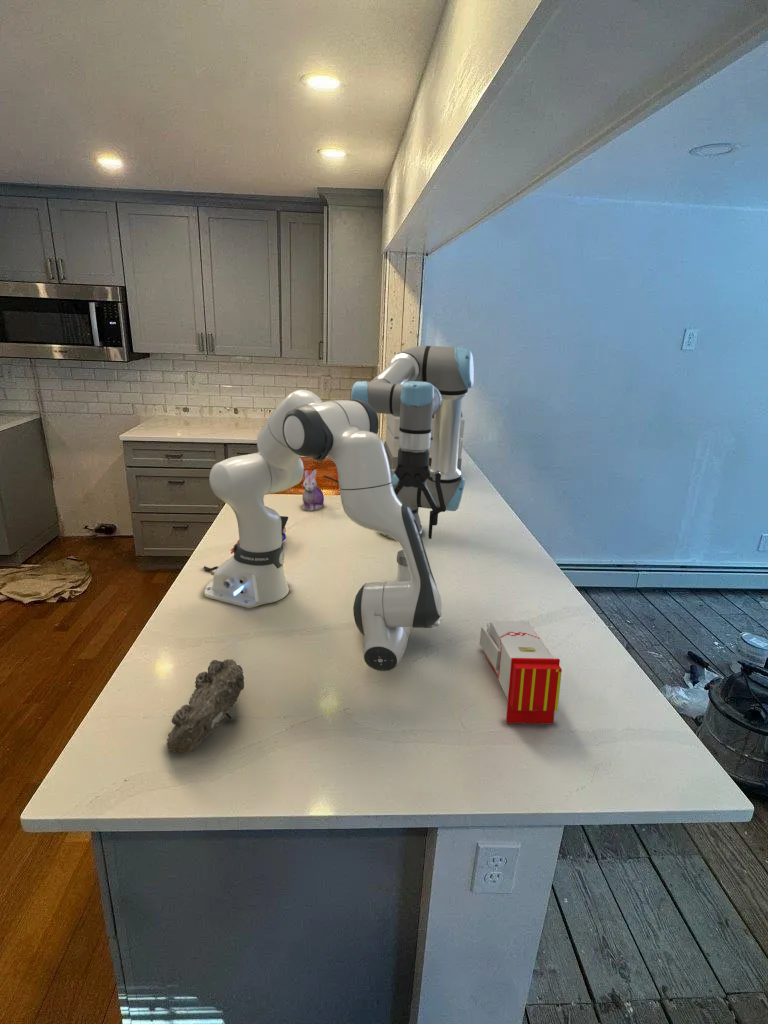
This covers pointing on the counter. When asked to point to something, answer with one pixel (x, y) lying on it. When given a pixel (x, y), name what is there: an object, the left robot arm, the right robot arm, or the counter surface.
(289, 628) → the counter surface
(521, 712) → the toy
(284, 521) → the figurine character
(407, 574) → the jar
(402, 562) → the lid
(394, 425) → the grey tall slatted box
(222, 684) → the fossil
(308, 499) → the figurine
